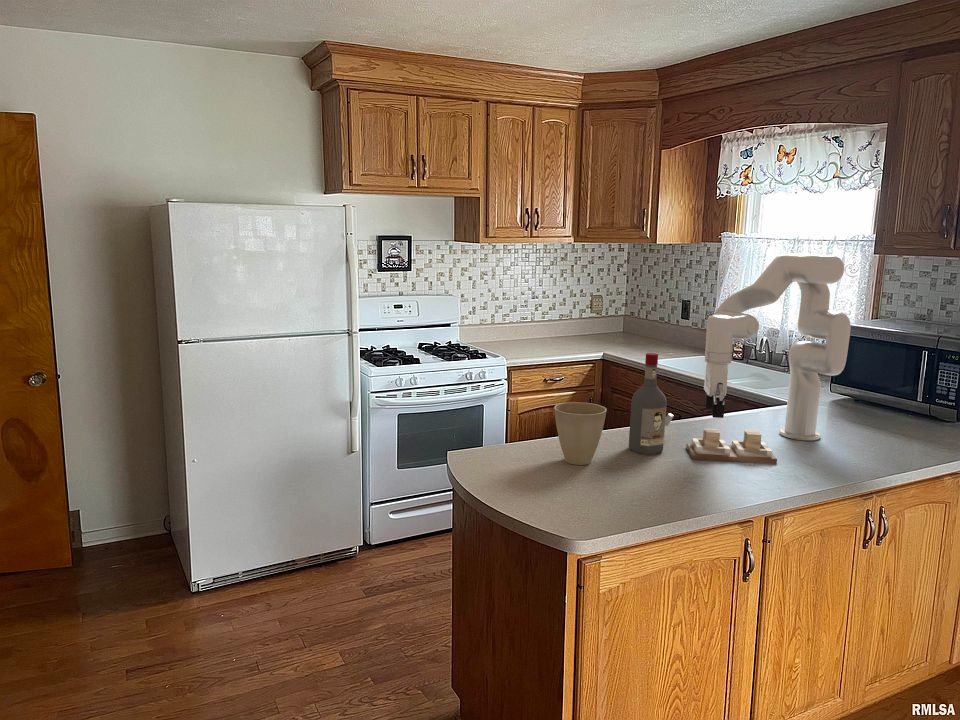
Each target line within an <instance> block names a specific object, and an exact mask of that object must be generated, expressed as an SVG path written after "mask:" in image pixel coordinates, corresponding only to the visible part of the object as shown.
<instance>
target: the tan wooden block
mask: <svg viewBox="0 0 960 720" xmlns="http://www.w3.org/2000/svg"><path fill="white" fill-rule="evenodd" d="M720 436H721V432H720V430H719V429H718V428H703V431H702V439H703V442H702V446H711V447H719V439H720V438H721V437H720Z"/></svg>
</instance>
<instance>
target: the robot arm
mask: <svg viewBox="0 0 960 720" xmlns="http://www.w3.org/2000/svg"><path fill="white" fill-rule="evenodd" d="M844 272H845V263H844V262H843V260H842V259H841V258H840V257H838V256H836V255H827V254H813V253H811V254H810V253H789V252H788V253H787V252H785V253H781V254H778V255H777V256H775V258H774V259H773V260H772V261H771V262H770V263H769V265H768V266H767V267H766V268H765V269H764V270H763V272H762V273H761V274H760V276H759V277H758V278H757V279H756V280H755V282H754V283H752V284H751V285H749V286H747V287H744V288H742V289H741V290H739V291H737V292H735V293H733V294H732V295H730V296H729V297H727V298H726V299H725V300H724V301H723V302H722V303H721V304H720V305H719V306H718V308H717V309H716V310H715V311H714V313H713V315H710V316H708V318H707V321H706V334H705V337H706V339H705V352H704V362H705V363H706V366H705V372H704V384H703V391H705V393H706V400H705V409H707V410H712V413H711V416H712V418H716V419H722V418H724V417H725V397H726V395H727V390H728V389H727V388H728V371H729V370H728V368H729V366H728V365H730V364H731V363H732V357H733V356H732V355H733V344H734V343H733V342H734V340H749V339H752V338H754V337H755V336H756V335H757V334H758V331H759V329H760V328H759V327H760V324H759V321H758V319H757V318H756V317H755V316H753V315H751V314H747V313H744V312H747V311H748V310H752V309H757V308H761V307H765V306H769V305H772V304H774V303H776V302H777V301H778V300H779V299H780V298H781V296H782V295H783V293H785V291H787V289H788V288H789V286H790V285H791V284H792V283H797V285H798V287H799V290H800V304H799V312H798V313H799V314H798V320H797V330H798V332H799V334H800V335H802V336H804V337H807V338H811V339H817V340H818V339H819V340H823V341H825V343H822V342H816V341H809V340H801V341H797V342H794V343H793V344H792V345H791V346H790V349H789V351H788V364H789V383H788V393H787V403H786V414H785V423H784V427H781V428H779V434H780V435H781V436H782V437H785V438H787V439H788V438H789V439H792V440H796V441H797V440H798V441H806V442H807V441H818V440H819V439H821V433H820V432H818V431H817V424H818V423H817V422H818V415H819V414H818V413H819V406H820V397H821V396H820V395H821V390H822V389H821V388H822V387H821V380H820V377H819V374H820V375H826V376H832V377H834V376H838V375H840V374H841V373H842V372H843V371H844V369H845V366H846V363H847V360H848V359H847V357H848V351H849V343H850V339H851V338H850V337H851V328H852V327H851V325H852V324H851V321H850V318H849V316H848V315H847V314H846V313H844V312H843V311H839V310H832V309H830V300H831V299H830V298H831V292H830V288H829V286H828V284H830V285H831V284H835V283H837V282H839V281H840V280H841V278H842V277H843V275H844V274H845V273H844Z"/></svg>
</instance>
